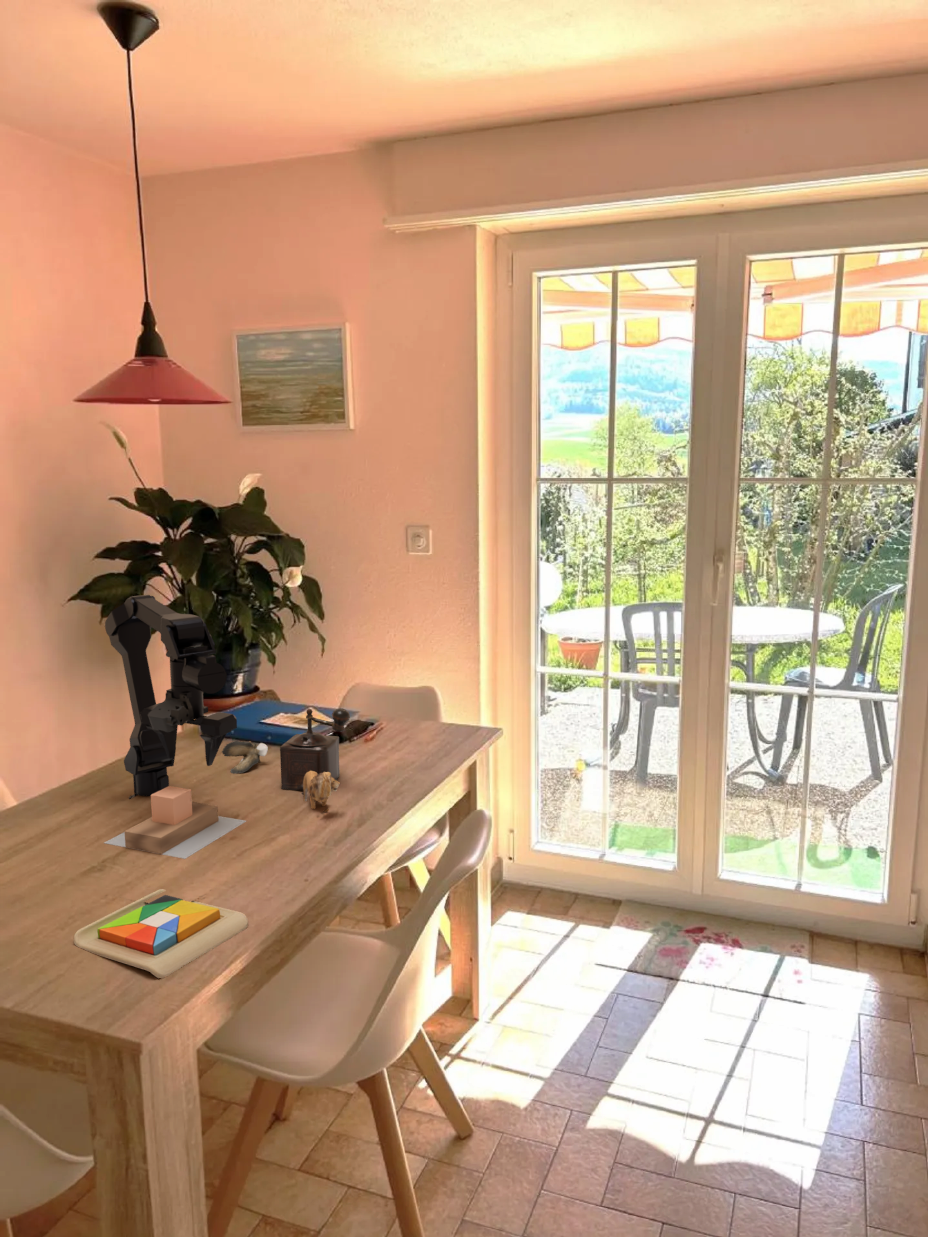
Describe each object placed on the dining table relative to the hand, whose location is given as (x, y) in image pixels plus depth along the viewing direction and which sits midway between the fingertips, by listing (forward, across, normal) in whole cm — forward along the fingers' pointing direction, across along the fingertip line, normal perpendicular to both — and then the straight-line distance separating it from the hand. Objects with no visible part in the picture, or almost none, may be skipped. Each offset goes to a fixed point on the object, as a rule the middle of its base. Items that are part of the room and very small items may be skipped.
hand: (190, 761), depth 171 cm
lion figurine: (+12, +18, +16) cm, 27 cm away
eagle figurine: (+13, -10, +31) cm, 35 cm away
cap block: (+8, +2, -8) cm, 12 cm away
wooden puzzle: (+12, +24, -36) cm, 45 cm away
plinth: (+11, +3, -8) cm, 14 cm away
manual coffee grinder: (+12, +11, +28) cm, 33 cm away
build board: (+12, +3, -7) cm, 14 cm away
